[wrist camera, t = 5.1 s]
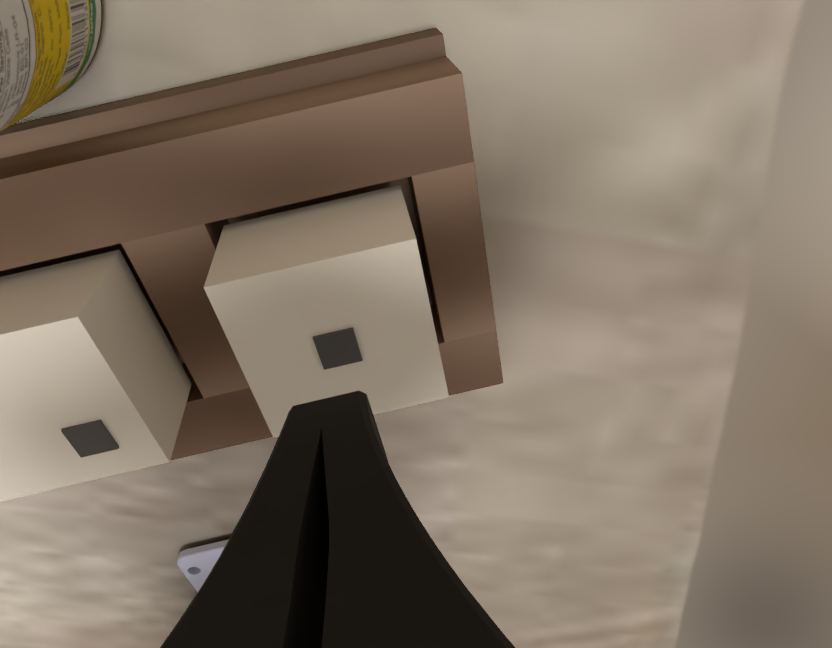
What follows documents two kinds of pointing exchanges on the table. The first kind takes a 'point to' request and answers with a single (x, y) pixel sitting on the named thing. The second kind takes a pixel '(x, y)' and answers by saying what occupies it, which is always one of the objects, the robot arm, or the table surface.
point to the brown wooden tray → (257, 198)
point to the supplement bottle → (43, 51)
